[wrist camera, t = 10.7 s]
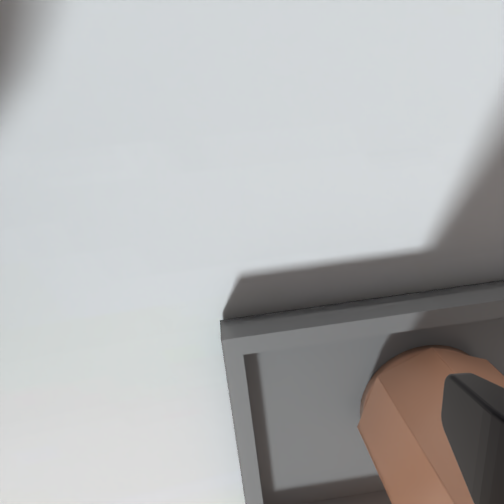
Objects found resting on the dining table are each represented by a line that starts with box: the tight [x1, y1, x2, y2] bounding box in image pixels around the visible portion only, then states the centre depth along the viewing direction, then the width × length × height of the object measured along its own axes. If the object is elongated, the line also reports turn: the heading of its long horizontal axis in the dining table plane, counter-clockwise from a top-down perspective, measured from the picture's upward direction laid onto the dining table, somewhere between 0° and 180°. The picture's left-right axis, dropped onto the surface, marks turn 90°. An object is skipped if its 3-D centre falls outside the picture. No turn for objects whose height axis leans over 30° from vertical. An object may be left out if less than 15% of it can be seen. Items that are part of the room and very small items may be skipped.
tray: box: [220, 281, 504, 504], centre depth 22 cm, size 15×11×2 cm
